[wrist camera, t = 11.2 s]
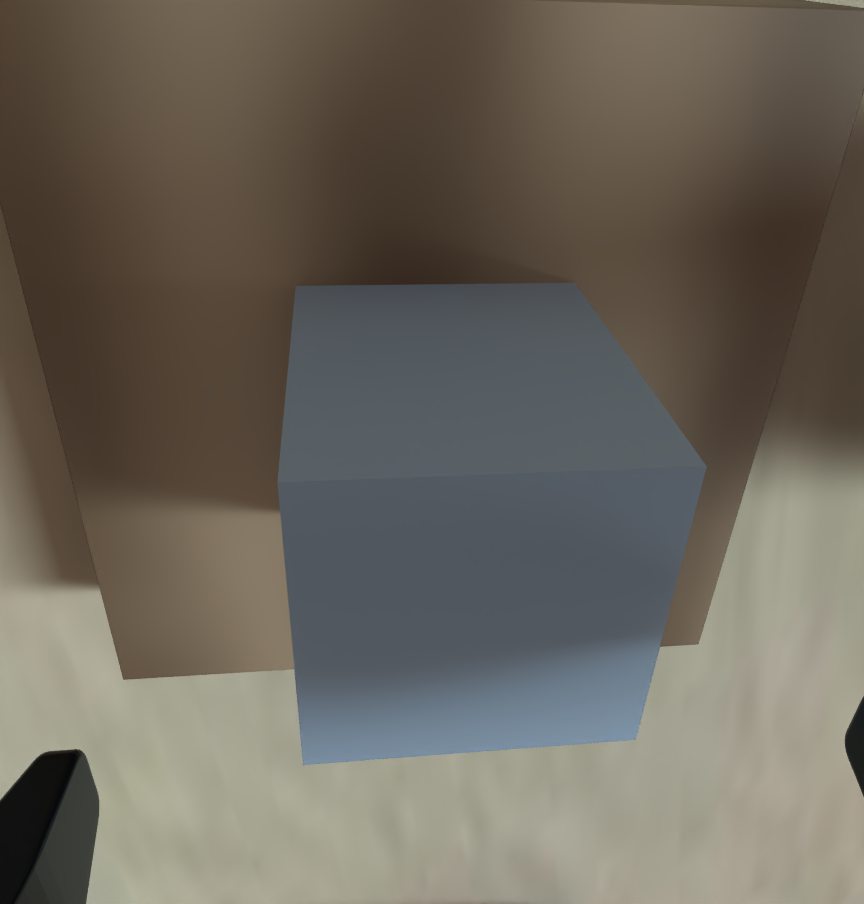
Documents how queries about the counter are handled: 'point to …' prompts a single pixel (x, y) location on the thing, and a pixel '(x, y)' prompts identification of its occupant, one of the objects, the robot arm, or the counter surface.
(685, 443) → the slate block
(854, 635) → the counter surface
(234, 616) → the walnut stand
